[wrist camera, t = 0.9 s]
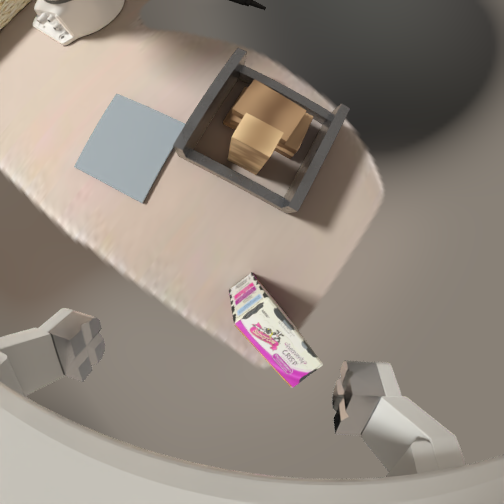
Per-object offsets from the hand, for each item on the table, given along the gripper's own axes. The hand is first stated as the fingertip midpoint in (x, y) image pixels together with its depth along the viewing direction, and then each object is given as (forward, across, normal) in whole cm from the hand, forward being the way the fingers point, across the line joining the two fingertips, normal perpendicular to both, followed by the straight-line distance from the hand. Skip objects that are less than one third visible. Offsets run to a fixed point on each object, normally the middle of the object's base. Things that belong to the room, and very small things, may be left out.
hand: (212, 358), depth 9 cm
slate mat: (+37, +24, -5) cm, 44 cm away
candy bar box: (+36, 0, +19) cm, 40 cm away
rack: (+42, +4, -8) cm, 43 cm away
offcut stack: (+43, +3, -10) cm, 45 cm away
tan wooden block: (+41, +5, -4) cm, 41 cm away
